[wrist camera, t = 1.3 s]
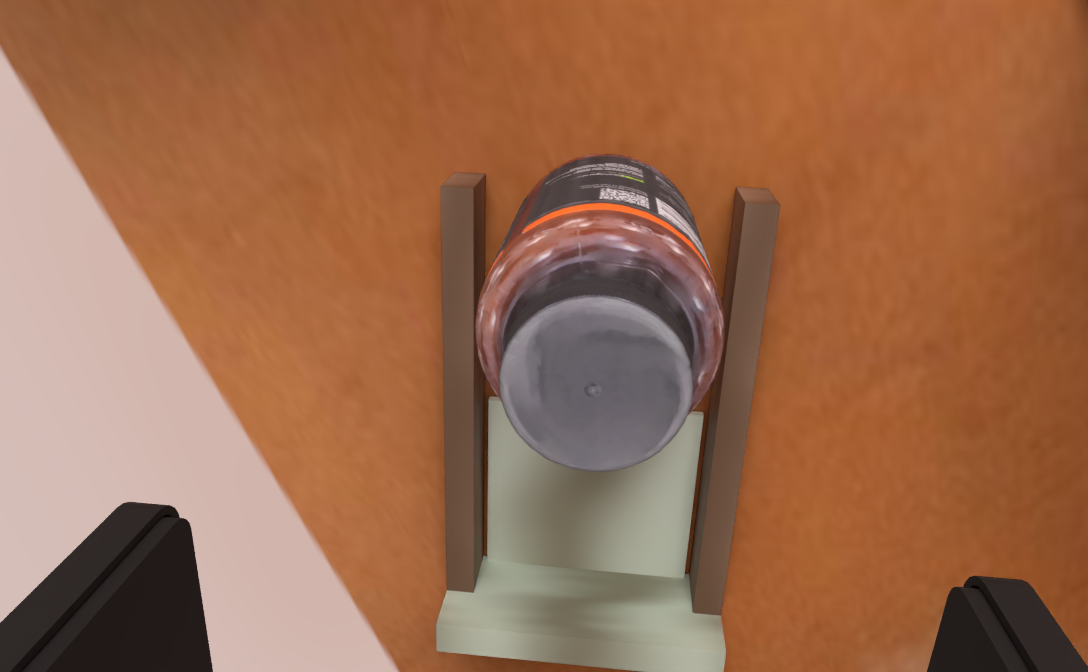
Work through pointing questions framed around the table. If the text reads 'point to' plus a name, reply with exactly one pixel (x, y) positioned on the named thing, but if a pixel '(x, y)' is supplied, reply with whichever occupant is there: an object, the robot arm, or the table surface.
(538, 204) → the supplement bottle
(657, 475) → the guide rail
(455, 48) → the table surface
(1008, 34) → the table surface
